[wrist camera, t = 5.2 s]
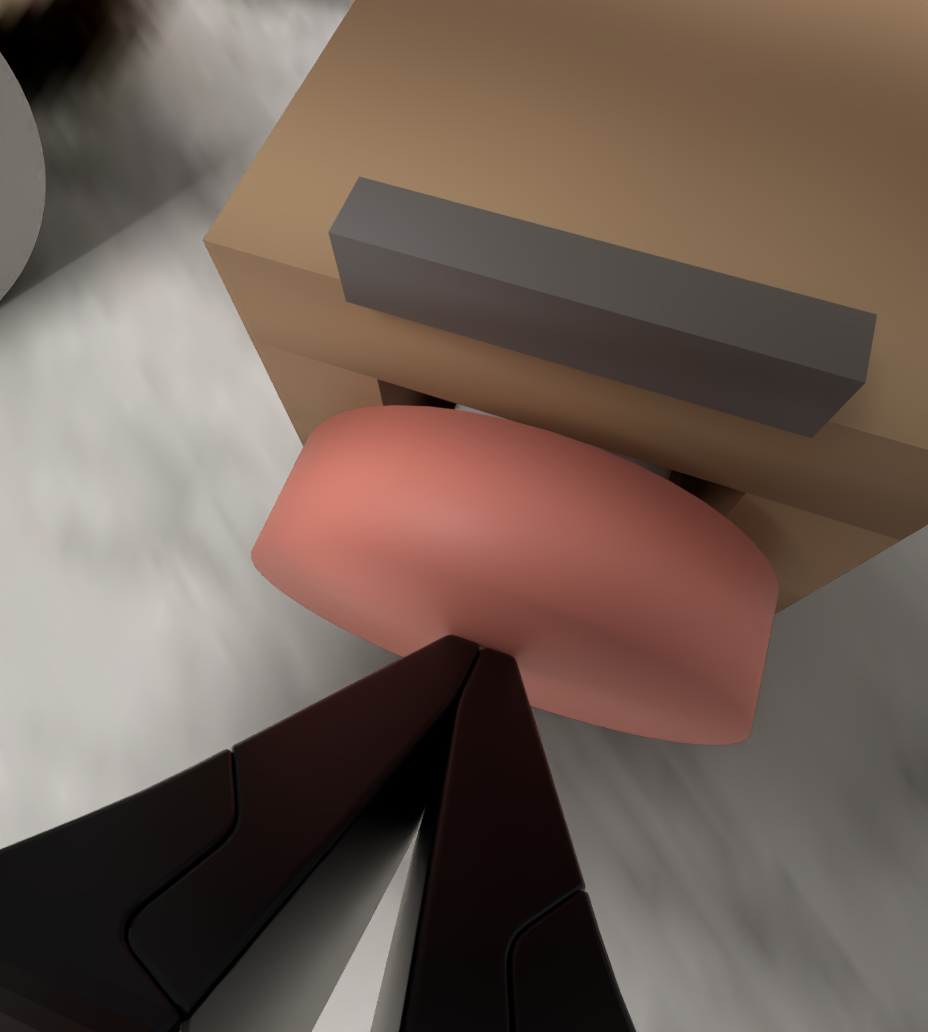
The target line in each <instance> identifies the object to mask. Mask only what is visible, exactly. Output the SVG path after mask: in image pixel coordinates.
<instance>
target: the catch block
mask: <svg viewBox="0 0 928 1032" xmlns="http://www.w3.org/2000/svg"><path fill="white" fill-rule="evenodd" d="M203 241H204V244H205V246H206V248H207V250H208V252H209V254H210V256H211V258H212V260H213V262H214V264H215V266H216V268H217V270H218V272H219V274H220V276H221V278H222V280H223V283H224V285H225V287H226V289H227V291H228V293H229V295H230V297H231V299H232V301H233V303H234V305H235V307H236V309H237V311H238V313H239V315H240V317H241V319H242V321H243V324H244V326H245V328H246V330H247V332H248V334H249V336H250V338H251V340H252V342H253V344H254V346H255V348H256V350H257V352H258V354H259V356H260V358H261V360H262V362H263V365H264V367H265V369H266V371H267V373H268V375H269V377H270V379H271V381H272V383H273V385H274V387H275V389H276V391H277V393H278V395H279V397H280V399H281V401H282V404H283V406H284V408H285V410H286V412H287V414H288V416H289V418H290V420H291V422H292V424H293V426H294V428H295V430H296V432H297V434H298V436H299V438H300V440H301V442H302V445H303V447H304V445H305V443H306V441H307V439H308V437H309V436H310V434H311V433H312V431H313V430H314V428H315V427H316V426H318V425H319V424H321V423H322V422H323V421H325V420H326V419H327V418H330V417H332V416H335V415H337V414H340V413H342V412H345V411H350V410H355V409H360V408H365V407H375V406H390V405H405V406H429V407H437V408H445V409H453V410H454V409H455V406H456V404H460V405H463V406H466V407H470V408H473V409H476V410H479V411H483V412H486V413H489V414H492V415H496V416H499V417H502V418H505V419H509V420H512V421H515V422H519V423H522V424H526V425H530V426H533V427H537V428H541V429H544V430H548V431H551V432H554V433H557V434H560V435H563V436H566V437H569V438H571V439H574V440H577V441H580V442H583V443H586V444H590V445H593V446H596V447H599V448H603V449H606V450H609V451H612V452H616V453H619V454H622V455H625V456H629V457H632V458H635V459H638V460H642V461H645V462H648V463H651V464H655V465H658V466H661V467H664V468H668V469H671V474H670V477H669V481H671V482H672V483H674V484H676V485H677V486H679V487H681V488H682V489H684V490H686V491H687V492H689V493H691V494H692V495H694V496H696V497H697V498H699V499H701V500H702V501H704V502H705V503H707V504H708V505H709V506H711V507H712V508H714V509H715V510H716V511H718V512H719V513H720V514H722V515H723V516H724V517H726V518H727V519H729V520H730V521H731V522H732V523H734V524H735V525H736V526H737V527H738V528H739V529H740V530H741V531H742V532H743V533H744V534H746V535H747V536H748V537H749V538H750V539H751V540H752V541H753V542H754V543H755V545H756V546H757V547H758V548H759V549H760V551H761V552H762V553H763V554H764V556H765V557H766V558H767V559H768V561H769V563H770V565H771V567H772V569H773V571H774V573H775V575H776V578H777V583H778V588H779V593H778V599H777V604H776V609H775V614H776V613H778V612H779V611H781V610H783V609H784V608H786V607H788V606H790V605H791V604H793V603H795V602H796V601H798V600H800V599H801V598H803V597H805V596H807V595H808V594H810V593H812V592H813V591H815V590H817V589H819V588H820V587H822V586H824V585H825V584H827V583H829V582H830V581H832V580H834V579H836V578H837V577H839V576H841V575H842V574H844V573H846V572H848V571H849V570H851V569H853V568H854V567H856V566H858V565H859V564H861V563H863V562H865V561H866V560H868V559H870V558H871V557H873V556H875V555H876V554H878V553H880V552H882V551H883V550H885V549H887V548H888V547H890V546H892V545H894V544H895V543H897V542H899V541H900V540H902V539H904V538H905V537H907V536H909V535H911V534H912V533H914V532H916V531H917V530H919V529H921V528H923V527H924V526H926V525H928V0H355V1H354V3H353V5H352V6H351V8H350V9H349V11H348V12H347V14H346V16H345V17H344V19H343V20H342V22H341V23H340V25H339V27H338V28H337V30H336V31H335V33H334V34H333V36H332V38H331V39H330V41H329V42H328V44H327V45H326V47H325V49H324V50H323V52H322V53H321V55H320V56H319V58H318V60H317V61H316V63H315V64H314V66H313V67H312V69H311V71H310V72H309V74H308V75H307V77H306V78H305V80H304V82H303V83H302V85H301V86H300V88H299V89H298V91H297V93H296V94H295V96H294V97H293V99H292V100H291V102H290V104H289V105H288V107H287V108H286V110H285V111H284V113H283V115H282V116H281V118H280V119H279V121H278V122H277V124H276V126H275V127H274V129H273V130H272V132H271V133H270V135H269V137H268V138H267V140H266V141H265V143H264V144H263V146H262V148H261V149H260V151H259V152H258V154H257V155H256V157H255V159H254V160H253V162H252V163H251V165H250V166H249V168H248V170H247V171H246V173H245V174H244V176H243V177H242V179H241V181H240V182H239V184H238V185H237V187H236V188H235V190H234V192H233V193H232V195H231V196H230V198H229V199H228V201H227V203H226V204H225V206H224V207H223V209H222V210H221V212H220V214H219V215H218V217H217V218H216V220H215V221H214V223H213V225H212V226H211V228H210V229H209V231H208V233H207V234H206V236H205V237H204V239H203Z"/></svg>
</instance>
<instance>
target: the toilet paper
mask: <svg viewBox="0 0 928 1032" xmlns="http://www.w3.org/2000/svg"><path fill="white" fill-rule="evenodd" d="M45 192H46V178H45V164H44V157H43V150H42V145H41V141H40V137H39V133H38V129H37V125H36V123H35V120H34V117H33V114H32V111H31V109H30V106H29V103H28V101H27V99H26V97H25V95H24V93H23V91H22V89H21V86H20V84H19V82H18V81H17V79H16V77H15V75H14V74H13V72H12V70H11V68H10V67H9V65H8V63H7V62H6V60H5V58H4V57H3V56H2V54H1V53H0V300H1V299H2V298H3V297H4V295H5V294H6V293H7V292H8V291H9V289H10V288H11V287H12V285H13V284H14V283H15V281H16V280H17V278H18V277H19V275H20V274H21V272H22V270H23V269H24V267H25V265H26V263H27V261H28V259H29V258H30V255H31V253H32V250H33V248H34V246H35V243H36V241H37V237H38V234H39V230H40V227H41V223H42V218H43V212H44V206H45Z"/></svg>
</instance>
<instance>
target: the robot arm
mask: <svg viewBox="0 0 928 1032" xmlns="http://www.w3.org/2000/svg"><path fill="white" fill-rule="evenodd" d="M422 817H423V818H422ZM421 819H422V821H421ZM420 821H421V824H420ZM419 824H420V828H419V831H418V835H417V839H416V842H415V846H414V850H413V854H412V858H411V862H410V866H409V871H408V875H407V879H406V883H405V888H404V892H403V896H402V900H401V904H400V909H399V913H398V917H397V921H396V926H395V930H394V934H393V938H392V942H391V947H390V951H389V955H388V959H387V964H386V968H385V972H384V976H383V980H382V985H381V989H380V993H379V997H378V1002H377V1006H376V1010H375V1014H374V1018H373V1023H372V1027H371V1031H370V1032H636V1030H635V1027H634V1025H633V1022H632V1020H631V1017H630V1015H629V1012H628V1010H627V1007H626V1005H625V1002H624V1000H623V997H622V995H621V992H620V990H619V987H618V984H617V981H616V978H615V975H614V972H613V969H612V966H611V963H610V960H609V957H608V955H607V952H606V949H605V946H604V943H603V940H602V937H601V934H600V931H599V928H598V924H597V921H596V918H595V914H594V911H593V908H592V904H591V901H590V898H589V895H588V893H587V892H585V883H584V879H583V876H582V873H581V870H580V866H579V863H578V860H577V857H576V853H575V850H574V847H573V843H572V840H571V837H570V834H569V830H568V827H567V824H566V821H565V817H564V814H563V811H562V808H561V804H560V801H559V798H558V794H557V791H556V788H555V785H554V781H553V778H552V775H551V772H550V768H549V765H548V762H547V759H546V755H545V752H544V749H543V746H542V742H541V739H540V736H539V732H538V729H537V726H536V723H535V719H534V716H533V713H532V710H531V706H530V703H529V700H528V697H527V693H526V690H525V687H524V684H523V680H522V677H521V674H520V670H519V667H518V664H517V661H516V659H515V658H514V657H512V656H510V655H507V654H504V653H501V652H499V651H496V650H493V649H490V648H483V649H482V650H481V651H480V647H479V646H478V645H477V644H476V643H473V642H470V641H468V640H465V639H462V638H459V637H456V636H454V635H446V636H444V637H442V638H440V639H438V640H436V641H434V642H432V643H430V644H428V645H426V646H425V647H423V648H421V649H419V650H417V651H415V652H413V653H411V654H409V655H407V656H405V657H403V658H401V659H399V660H397V661H396V662H394V663H392V664H390V665H388V666H386V667H384V668H382V669H380V670H378V671H376V672H374V673H372V674H370V675H369V676H367V677H365V678H363V679H361V680H359V681H357V682H355V683H353V684H351V685H349V686H347V687H345V688H343V689H342V690H340V691H338V692H336V693H334V694H332V695H330V696H328V697H326V698H324V699H322V700H320V701H318V702H316V703H315V704H313V705H311V706H309V707H307V708H305V709H303V710H301V711H299V712H297V713H295V714H293V715H291V716H289V717H288V718H286V719H284V720H282V721H280V722H278V723H276V724H274V725H272V726H270V727H268V728H266V729H264V730H262V731H260V732H259V733H257V734H255V735H253V736H251V737H249V738H247V739H245V740H243V741H241V742H239V743H237V744H235V745H234V746H233V747H232V749H231V751H230V750H228V749H225V750H223V751H221V752H219V753H217V754H215V755H214V756H212V757H210V758H208V759H206V760H204V761H202V762H200V763H198V764H196V765H194V766H192V767H190V768H188V769H186V770H184V771H182V772H180V773H178V774H176V775H174V776H171V777H169V778H167V779H165V780H163V781H161V782H159V783H157V784H155V785H153V786H151V787H149V788H147V789H145V790H143V791H140V792H138V793H136V794H133V795H131V796H129V797H126V798H124V799H122V800H119V801H117V802H114V803H112V804H110V805H107V806H105V807H103V808H100V809H98V810H96V811H93V812H91V813H89V814H86V815H84V816H82V817H79V818H77V819H74V820H72V821H69V822H67V823H64V824H62V825H59V826H57V827H54V828H52V829H49V830H47V831H44V832H42V833H39V834H37V835H35V836H32V837H30V838H27V839H25V840H22V841H20V842H17V843H15V844H12V845H10V846H7V847H5V848H2V849H0V1032H312V1030H313V1028H314V1026H315V1024H316V1022H317V1020H318V1018H319V1016H320V1015H321V1013H322V1011H323V1009H324V1007H325V1005H326V1003H327V1001H328V999H329V997H330V996H331V994H332V992H333V990H334V988H335V986H336V984H337V982H338V980H339V978H340V977H341V975H342V973H343V971H344V969H345V967H346V965H347V963H348V961H349V959H350V958H351V956H352V954H353V952H354V950H355V948H356V946H357V944H358V942H359V940H360V939H361V937H362V935H363V933H364V931H365V929H366V927H367V925H368V923H369V921H370V920H371V918H372V916H373V914H374V912H375V910H376V908H377V906H378V904H379V902H380V901H381V899H382V897H383V895H384V893H385V891H386V889H387V887H388V885H389V883H390V882H391V880H392V878H393V876H394V874H395V872H396V870H397V868H398V866H399V864H400V863H401V861H402V859H403V857H404V855H405V853H406V851H407V849H408V847H409V845H410V843H411V841H412V839H413V837H414V835H415V833H416V831H417V829H418V826H419Z"/></svg>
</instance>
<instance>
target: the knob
mask: <svg viewBox="0 0 928 1032" xmlns="http://www.w3.org/2000/svg"><path fill="white" fill-rule="evenodd" d="M670 474H671V469H668V468H664V467H661V466H658V465H655V464H651V463H648V462H645V461H642V460H638V459H635V458H632V457H629V456H625V455H622V454H619V453H616V452H612V451H609V450H606V449H603V448H599V447H596V446H593V445H590V444H586V443H583V442H580V441H577V440H574V439H571V438H569V437H566V436H563V435H560V434H557V433H554V432H551V431H548V430H544V429H541V428H537V427H533V426H530V425H526V424H522V423H519V422H515V421H512V420H509V419H505V418H502V417H499V416H496V415H492V414H489V413H486V412H483V411H479V410H476V409H473V408H470V407H466V406H463V405H460V404H456V406H455V409H454V410H453V409H445V408H437V407H429V406H405V405H390V406H375V407H365V408H360V409H355V410H350V411H345V412H342V413H340V414H337V415H335V416H332V417H330V418H327V419H326V420H325V421H323V422H322V423H321V424H319V425H318V426H316V427H315V428H314V430H313V431H312V433H311V434H310V436H309V437H308V439H307V441H306V443H305V445H304V447H303V449H302V451H301V453H300V455H299V457H298V459H297V461H296V463H295V465H294V467H293V469H292V471H291V473H290V475H289V477H288V479H287V481H286V483H285V485H284V487H283V489H282V491H281V493H280V495H279V497H278V499H277V501H276V503H275V505H274V507H273V509H272V511H271V513H270V515H269V517H268V519H267V521H266V523H265V525H264V527H263V529H262V531H261V533H260V535H259V537H258V539H257V541H256V543H255V545H254V547H253V549H252V551H251V559H252V561H253V563H254V565H255V567H256V568H257V569H258V571H259V572H260V573H261V574H262V575H263V576H264V577H265V578H266V579H267V580H268V581H269V582H270V583H272V584H273V585H274V586H275V587H277V588H278V589H279V590H280V591H282V592H283V593H284V594H286V595H287V596H289V597H290V598H292V599H293V600H295V601H296V602H298V603H299V604H301V605H302V606H304V607H306V608H307V609H309V610H311V611H312V612H314V613H316V614H317V615H319V616H321V617H323V618H324V619H326V620H328V621H330V622H332V623H333V624H335V625H337V626H339V627H341V628H343V629H345V630H347V631H349V632H350V633H352V634H354V635H356V636H358V637H361V638H363V639H365V640H367V641H369V642H371V643H373V644H375V645H377V646H379V647H381V648H383V649H386V650H388V651H390V652H392V653H394V654H397V655H399V656H401V657H405V656H407V655H409V654H411V653H413V652H415V651H417V650H419V649H421V648H423V647H425V646H426V645H428V644H430V643H432V642H434V641H436V640H438V639H440V638H442V637H444V636H446V635H454V636H456V637H459V638H462V639H465V640H468V641H470V642H473V643H476V644H477V645H478V646H479V647H480V651H481V650H482V649H483V648H490V649H493V650H496V651H499V652H501V653H504V654H507V655H510V656H512V657H514V658H515V659H516V661H517V664H518V667H519V670H520V674H521V677H522V680H523V684H524V687H525V690H526V693H527V697H528V700H529V703H530V706H533V707H536V708H539V709H542V710H545V711H548V712H552V713H555V714H558V715H562V716H565V717H568V718H572V719H575V720H579V721H583V722H586V723H590V724H594V725H597V726H601V727H605V728H609V729H613V730H617V731H621V732H626V733H631V734H635V735H640V736H644V737H650V738H655V739H661V740H666V741H673V742H680V743H689V744H700V745H727V744H735V743H738V742H741V741H744V740H745V739H747V738H748V737H749V736H750V734H751V729H752V724H753V719H754V714H755V709H756V704H757V699H758V694H759V689H760V684H761V679H762V674H763V669H764V664H765V659H766V654H767V649H768V644H769V639H770V634H771V629H772V624H773V619H774V614H775V609H776V604H777V599H778V593H779V588H778V583H777V578H776V575H775V573H774V571H773V569H772V567H771V565H770V563H769V561H768V559H767V558H766V557H765V556H764V554H763V553H762V552H761V551H760V549H759V548H758V547H757V546H756V545H755V543H754V542H753V541H752V540H751V539H750V538H749V537H748V536H747V535H746V534H744V533H743V532H742V531H741V530H740V529H739V528H738V527H737V526H736V525H735V524H734V523H732V522H731V521H730V520H729V519H727V518H726V517H724V516H723V515H722V514H720V513H719V512H718V511H716V510H715V509H714V508H712V507H711V506H709V505H708V504H707V503H705V502H704V501H702V500H701V499H699V498H697V497H696V496H694V495H692V494H691V493H689V492H687V491H686V490H684V489H682V488H681V487H679V486H677V485H676V484H674V483H672V482H671V481H669V477H670Z"/></svg>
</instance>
